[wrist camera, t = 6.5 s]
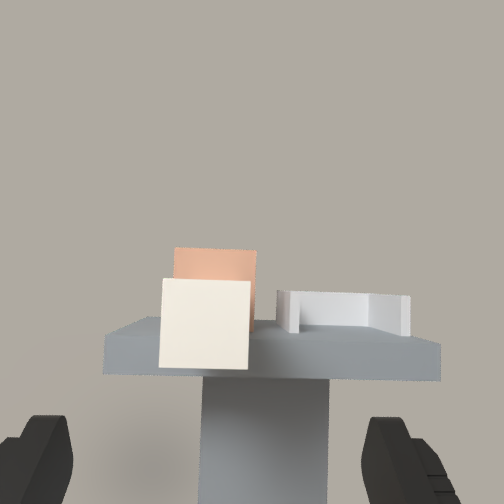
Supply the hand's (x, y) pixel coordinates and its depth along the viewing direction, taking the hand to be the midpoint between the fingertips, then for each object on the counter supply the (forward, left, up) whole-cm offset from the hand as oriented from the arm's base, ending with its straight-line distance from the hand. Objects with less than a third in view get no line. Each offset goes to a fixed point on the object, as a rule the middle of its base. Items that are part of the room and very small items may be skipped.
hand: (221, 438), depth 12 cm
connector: (-1, +12, +1) cm, 12 cm away
